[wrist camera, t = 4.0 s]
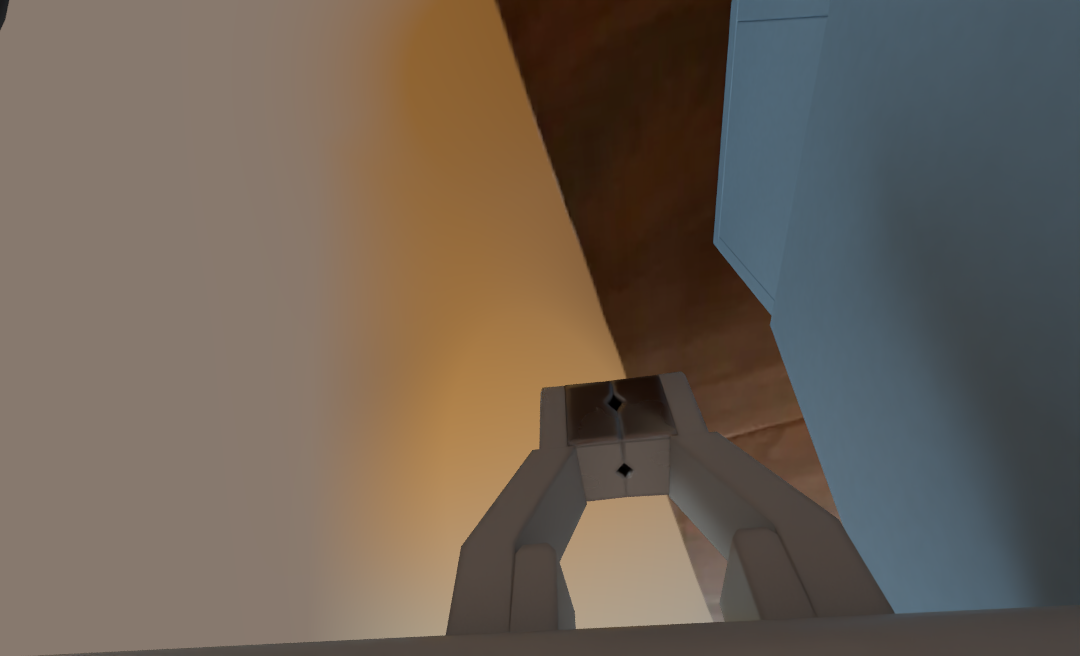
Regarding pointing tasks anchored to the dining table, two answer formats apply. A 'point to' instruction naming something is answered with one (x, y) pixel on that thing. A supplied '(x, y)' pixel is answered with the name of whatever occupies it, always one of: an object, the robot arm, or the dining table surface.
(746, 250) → the case
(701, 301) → the dining table surface
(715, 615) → the dining table surface
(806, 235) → the case lid
